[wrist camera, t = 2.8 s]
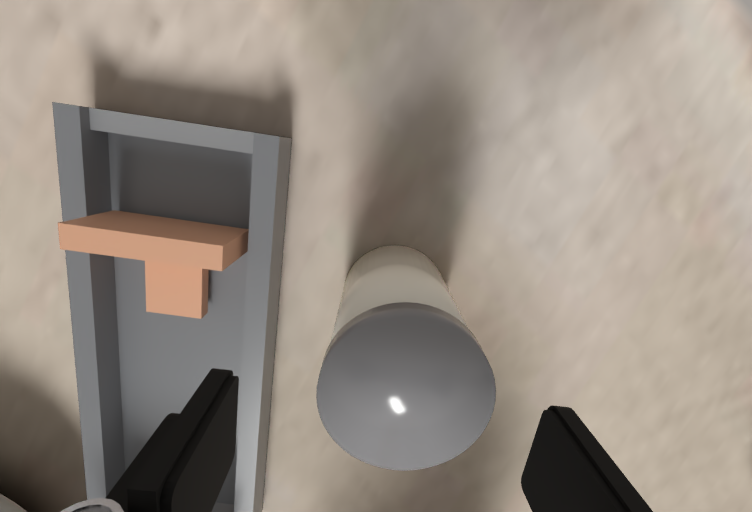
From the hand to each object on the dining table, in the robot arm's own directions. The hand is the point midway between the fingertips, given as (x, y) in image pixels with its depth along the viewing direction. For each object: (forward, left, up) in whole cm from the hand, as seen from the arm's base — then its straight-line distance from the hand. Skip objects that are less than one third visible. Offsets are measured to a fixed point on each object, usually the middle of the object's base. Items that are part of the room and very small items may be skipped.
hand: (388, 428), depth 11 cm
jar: (-1, 0, -12) cm, 12 cm away
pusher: (+11, 0, -10) cm, 15 cm away
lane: (+11, +5, -11) cm, 17 cm away
